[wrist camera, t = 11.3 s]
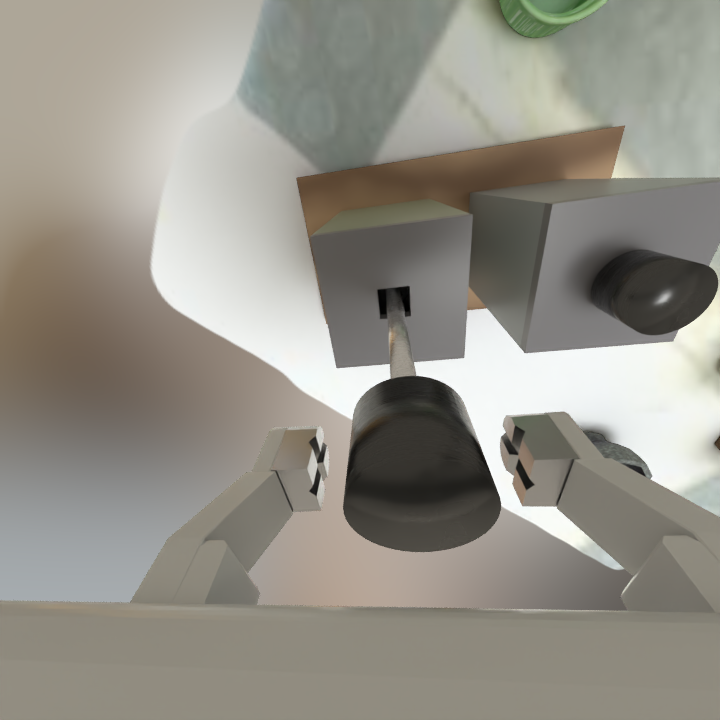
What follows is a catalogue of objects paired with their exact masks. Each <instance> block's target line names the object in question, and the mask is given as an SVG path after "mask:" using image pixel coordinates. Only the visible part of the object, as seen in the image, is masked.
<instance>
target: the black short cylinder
mask: <svg viewBox="0 0 720 720" xmlns="http://www.w3.org/2000/svg"><path fill="white" fill-rule="evenodd" d="M717 289H718V278H717V275H716V273H715V271H714V270H713V269H712V268H710V267H709V266H707V265H705V264H701V263H697V262H693V261H689V260H685V259H681V258H678V257H674V256H670V255H666V254H662V253H658V252H654V251H651V250H645V249H639V250H632V251H629V252H626V253H623V254H621V255H619V256H617V257H616V258H614V259H613V260H611V261H610V262H609V263H608V264H606V265H605V266H604V267H603V268H602V269H601V271H600V272H599V273H598V275H597V276H596V278H595V280H594V282H593V284H592V288H591V299H592V302H593V304H594V305H595V306H596V307H597V308H598V309H600V310H601V311H603V312H605V313H606V314H608V315H610V316H611V317H613V318H615V319H617V320H618V321H620V322H622V323H623V324H625V325H627V326H628V327H630V328H632V329H634V330H635V331H637V332H639V333H641V334H645V335H662V334H667V333H670V332H673V331H676V330H678V329H680V328H682V327H684V326H686V325H688V324H689V323H691V322H692V321H694V320H695V319H696V318H697V317H699V316H700V315H701V314H702V313H703V312H704V311H705V310H706V309H707V308H708V306H709V305H710V304H711V302H712V300H713V299H714V297H715V295H716V292H717Z"/></svg>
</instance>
